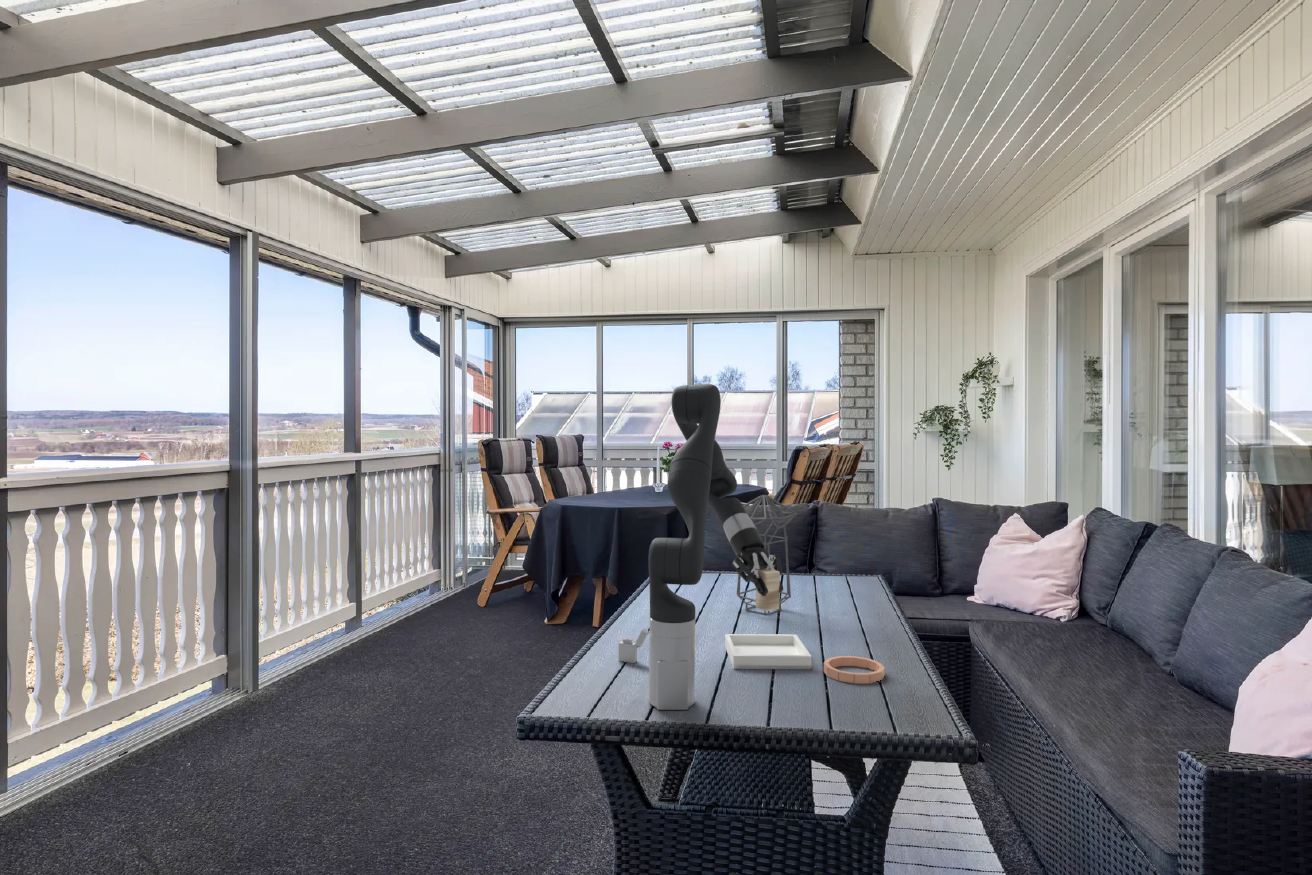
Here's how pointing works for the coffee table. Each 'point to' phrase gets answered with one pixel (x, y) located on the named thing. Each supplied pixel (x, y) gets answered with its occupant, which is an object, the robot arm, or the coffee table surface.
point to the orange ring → (854, 677)
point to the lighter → (631, 647)
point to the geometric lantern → (754, 508)
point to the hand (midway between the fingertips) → (772, 592)
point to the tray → (767, 651)
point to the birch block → (769, 590)
